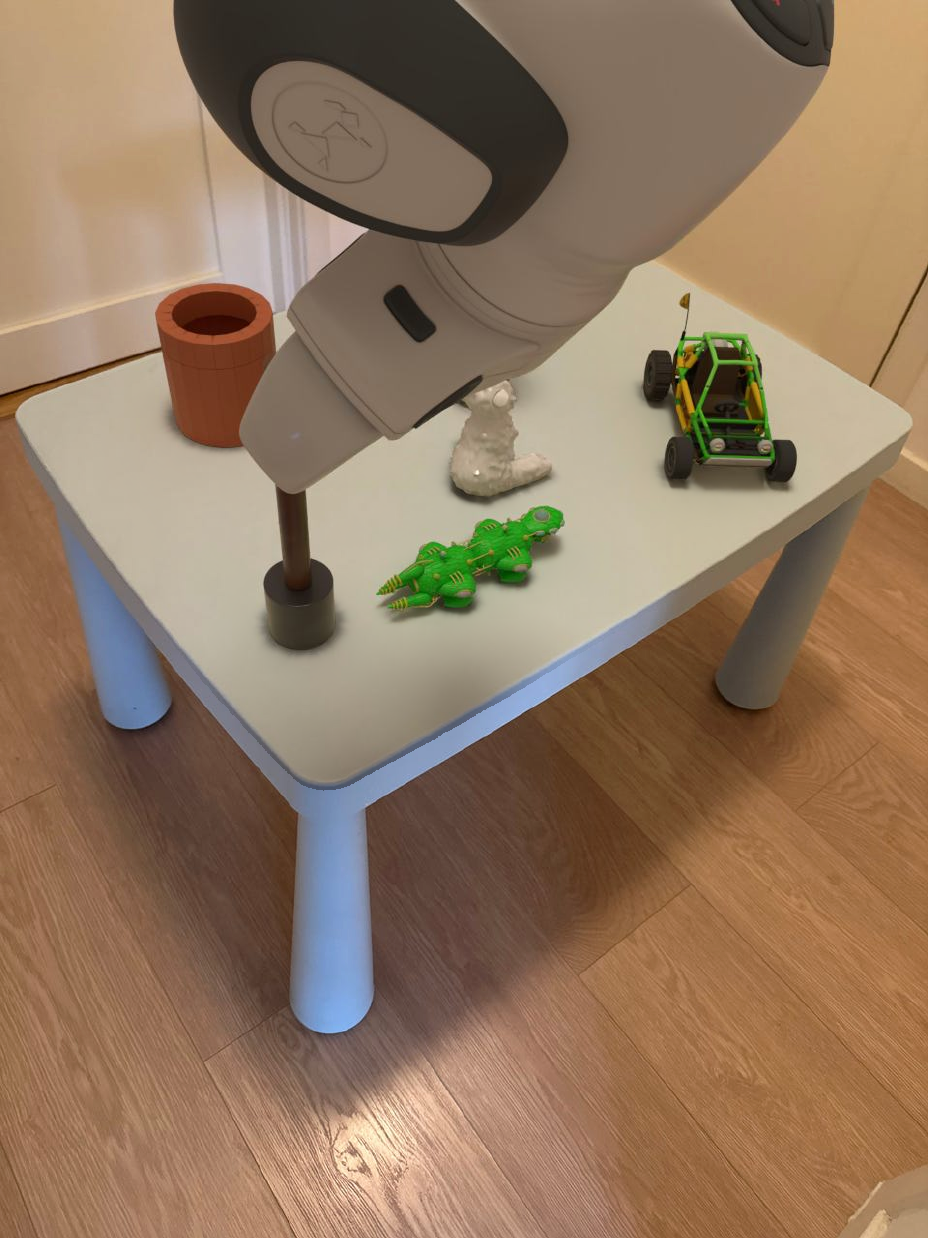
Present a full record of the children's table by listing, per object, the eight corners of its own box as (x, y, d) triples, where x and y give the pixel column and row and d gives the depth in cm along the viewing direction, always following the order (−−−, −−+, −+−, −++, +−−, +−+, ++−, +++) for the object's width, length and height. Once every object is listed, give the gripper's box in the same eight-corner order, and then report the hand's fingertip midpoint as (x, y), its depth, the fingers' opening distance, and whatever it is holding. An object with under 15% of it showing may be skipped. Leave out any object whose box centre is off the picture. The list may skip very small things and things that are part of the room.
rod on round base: (274, 655, 71) (242, 392, 53) (263, 605, 74) (229, 342, 56) (341, 643, 72) (332, 382, 54) (328, 595, 75) (315, 334, 57)
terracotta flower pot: (180, 453, 85) (160, 349, 77) (170, 390, 92) (150, 287, 83) (289, 440, 88) (280, 337, 80) (271, 379, 94) (262, 278, 86)
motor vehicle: (669, 489, 87) (699, 395, 79) (635, 370, 100) (658, 280, 92) (787, 492, 88) (828, 400, 81) (738, 374, 101) (769, 285, 93)
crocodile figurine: (579, 560, 80) (588, 523, 77) (403, 641, 73) (404, 604, 69) (533, 514, 84) (540, 478, 80) (360, 588, 76) (360, 550, 73)
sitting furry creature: (553, 474, 88) (574, 365, 79) (505, 523, 83) (521, 413, 74) (470, 434, 91) (482, 325, 82) (419, 479, 86) (425, 368, 77)
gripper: (588, 109, 42) (457, 273, 54) (260, 312, 33) (188, 457, 45) (672, 221, 43) (524, 358, 55) (376, 452, 33) (275, 558, 45)
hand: (372, 404), depth 50 cm, fingers open, 8 cm apart
